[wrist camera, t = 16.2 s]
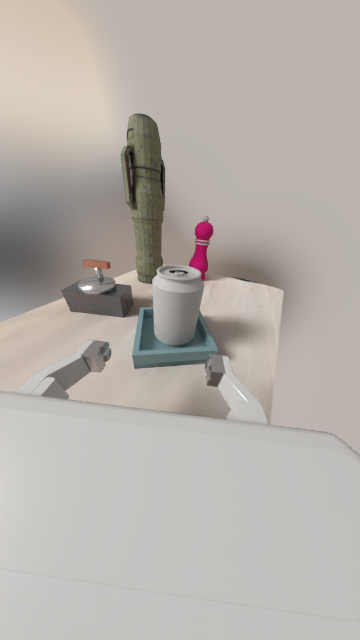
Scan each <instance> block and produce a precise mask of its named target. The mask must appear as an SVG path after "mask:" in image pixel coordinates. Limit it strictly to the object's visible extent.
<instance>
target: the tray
mask: <svg viewBox="0 0 360 640" xmlns="http://www.w3.org/2000/svg"><path fill="white" fill-rule="evenodd" d="M217 353H218V348H217V346H216V344H215V342H214V340H213V338H212V336H211V333H210V331H209V329H208V327H207V325H206V323H205V321H204V319H203V316H202V314H201V312H200V310H199V314H198V319H197V324H196V330H195V335H194V337H193V339H192V340H191V341H189V342H188V343H186V344H183V345H176V346H174V345H168V344H165V343H163V342H161V341H160V340H158V339H157V337H156V336H155V334H154V312H153V307H140V311H139V317H138V323H137V330H136V336H135V342H134V348H133V354H132V357H133V362H134V367H135V368H148V367H161V366H175V365H188V364H202V363H206V361H207V360H208V355H209V354H213V355H217Z"/></svg>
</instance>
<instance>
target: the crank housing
mask: <svg viewBox="0 0 360 640" xmlns="http://www.w3.org/2000/svg"><path fill="white" fill-rule="evenodd" d="M82 261H83V265H84V267H93V268H95V271H96V275H97V277H92V278H87V279H84V280H80V281H78V282H76V283H74V284H72V285H71V286H69V287H67V288H65V289H63V290H62V293H63V295H64V297H65V300H66V302H67V304H68V306H69V308H70V311H74V312H82V313H91V314H99V315H108V316H116V317H124V316H125V315H126V314H127V312H128V311H129V309H130V308H131V307H132V305H133V298H132V291H131V286H130V285H121V284H115V280H114V279H112V278H108V277H103V274H102V270H101V268H102V269H109V268H111V267H110V262H108V261H99V260H90V259H85V260H82Z"/></svg>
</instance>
